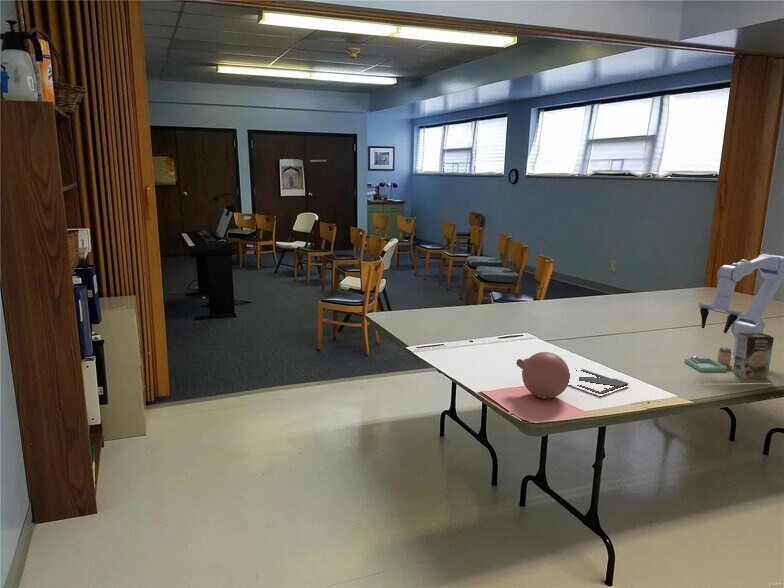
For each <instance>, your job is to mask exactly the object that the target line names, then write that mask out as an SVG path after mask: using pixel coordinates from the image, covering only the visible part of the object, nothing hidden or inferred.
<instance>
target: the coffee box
mask: <svg viewBox="0 0 784 588" xmlns="http://www.w3.org/2000/svg"><path fill="white" fill-rule="evenodd" d="M774 339H775V337H774V336H771V335H768V334H766V333H764V332H763V333H739V336H738V343H737V349H736V356H735V359H734V363H733V369H732V374H734V375H736V376H738V377H739V378H742V379H768V376H769V370H770V364H771V357H772V352H773V351H772V350H773V345H774Z"/></svg>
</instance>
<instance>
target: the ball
mask: <svg viewBox="0 0 784 588" xmlns="http://www.w3.org/2000/svg"><path fill="white" fill-rule="evenodd" d="M689 358H690V361H692V362H694V363H696V364H698V363H699V358H700V357H699V356H696V355H693V356H691V357H689Z"/></svg>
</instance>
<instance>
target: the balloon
mask: <svg viewBox="0 0 784 588" xmlns="http://www.w3.org/2000/svg"><path fill="white" fill-rule="evenodd" d="M515 364H516V366H517V367H518V368H520V369H521V377H522V382H523V385H524V386H525V388H526V389H527V390H528V392H529V393H531V394H532V395H533V394H534V395H533V396H535V395H536V396H535V397H537V396H540V397H545V398H544V399H552V397H553V398H556V397H559V396H560V395H561V394H562V393H563V392H564V391H565V390H566V389H567V388H568V386H569V385H568V383H569V379H570V373H569V370H570V369H569V366H568V364H567V363H566V361H565V360H564V359H563V358H562V357H561V356H559V355H558V354H556V353H554V352H549V351H539V352H536V353H535V354H532V355H531V356H530V357H527V358H525V359H521V358H519V359H517V360H516V363H515ZM540 397H539V398H540Z"/></svg>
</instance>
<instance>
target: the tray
mask: <svg viewBox="0 0 784 588" xmlns="http://www.w3.org/2000/svg"><path fill="white" fill-rule="evenodd" d="M690 358H691V357H685V358H684V363H685V364H687V365H688V366H690V367H692V368H694V369H695V370H697V371H699V372H703V373H704V372H705V373H708V372H711V373H712V372H715V373H716V372H727V371H728V367H726V366H724V365H722V364H720V363H718V362H717V360H714V359H712V358H711V357H698V358H699V363H698V364H696V363H694V362H692V361H690Z"/></svg>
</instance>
